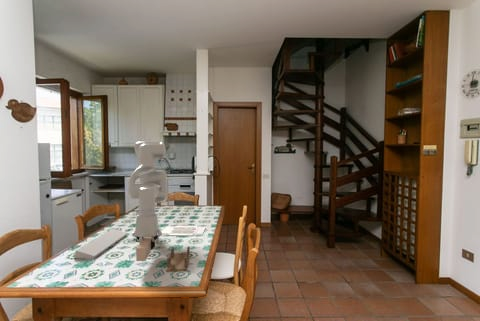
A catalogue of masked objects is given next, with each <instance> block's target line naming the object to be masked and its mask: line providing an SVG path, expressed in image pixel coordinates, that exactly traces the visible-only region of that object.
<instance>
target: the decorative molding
mask: <svg viewBox="0 0 480 321" xmlns="http://www.w3.org/2000/svg"><path fill="white" fill-rule="evenodd" d="M127 235H128V232H126V231H121V230H119V229H115V228H111V229H110V230H108V231H107V232H105V233H104V234H101V235H99V236H97V237H96V238H95V239H92V240H91V241H89V242H88V243H86V244H84V245H83V246H80V247H79V248H77V249H76V250H75V253H74V257H73V259H74V258H79V259H78V260H81V259H84V260H85V259H86V260H94V259H95V258H97V257H98V256H100V255H101V254H103V253H104V252H105V251H107V250H108V249H110V248H111V247H112V246H113V245H115V244H117V243H118V242H119V241H121V240H122V239H124V238H125V237H127ZM116 242H117V243H116ZM109 247H110V248H109Z"/></svg>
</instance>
